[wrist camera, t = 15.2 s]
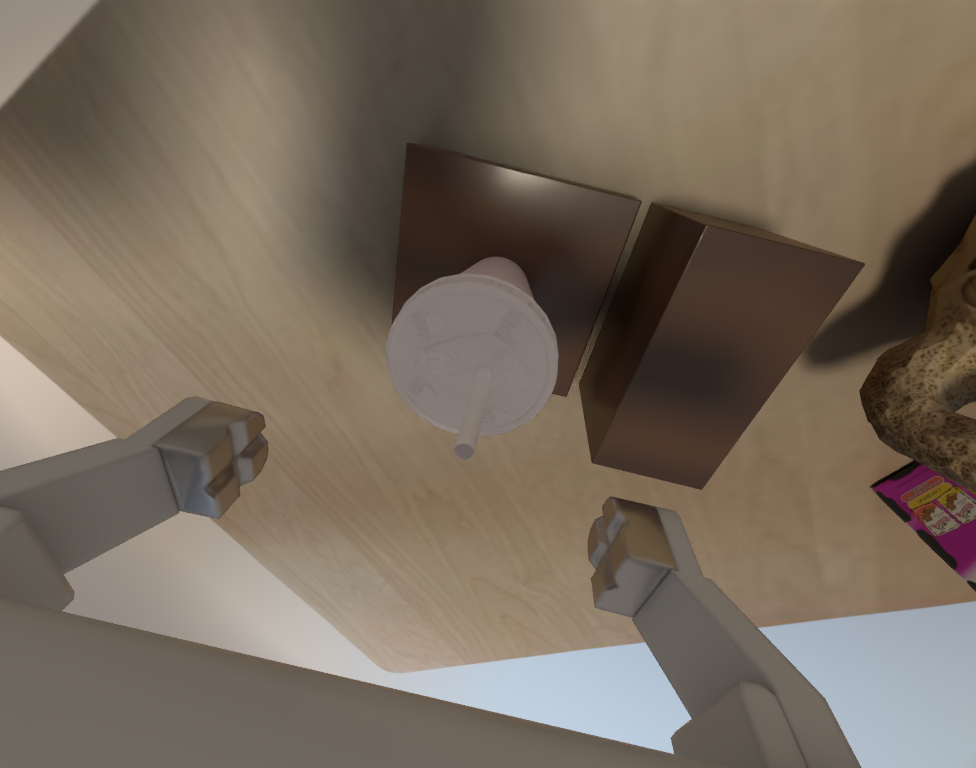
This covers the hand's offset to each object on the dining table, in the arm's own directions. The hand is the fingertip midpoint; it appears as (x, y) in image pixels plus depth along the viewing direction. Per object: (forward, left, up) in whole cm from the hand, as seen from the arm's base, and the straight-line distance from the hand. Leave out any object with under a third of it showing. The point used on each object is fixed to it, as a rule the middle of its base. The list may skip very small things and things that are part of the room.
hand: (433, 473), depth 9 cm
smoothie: (0, 0, -15) cm, 15 cm away
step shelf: (0, +4, -17) cm, 18 cm away
